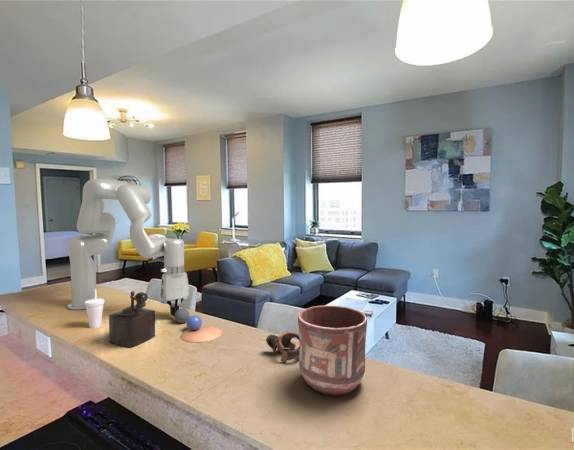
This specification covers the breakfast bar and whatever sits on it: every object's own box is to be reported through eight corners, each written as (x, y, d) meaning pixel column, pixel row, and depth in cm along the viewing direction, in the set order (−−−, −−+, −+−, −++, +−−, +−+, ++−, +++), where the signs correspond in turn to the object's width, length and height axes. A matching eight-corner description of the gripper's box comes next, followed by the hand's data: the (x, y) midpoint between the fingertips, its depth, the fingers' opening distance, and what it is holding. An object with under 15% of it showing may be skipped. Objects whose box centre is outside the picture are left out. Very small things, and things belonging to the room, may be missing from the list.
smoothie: (108, 323, 125) (108, 287, 124) (97, 329, 118) (96, 291, 118) (93, 322, 125) (92, 286, 125) (81, 329, 119) (80, 291, 118)
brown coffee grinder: (106, 343, 107) (105, 289, 106) (134, 331, 117) (133, 282, 116) (141, 352, 101) (140, 295, 100) (167, 339, 111) (166, 287, 110)
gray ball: (178, 307, 124) (181, 321, 122) (190, 305, 128) (193, 318, 126) (170, 312, 127) (173, 326, 125) (182, 310, 131) (185, 323, 129)
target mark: (175, 332, 117) (175, 332, 116) (211, 324, 125) (211, 323, 125) (190, 346, 106) (190, 345, 106) (228, 335, 114) (228, 335, 114)
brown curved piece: (303, 350, 105) (308, 333, 100) (296, 376, 97) (301, 359, 92) (268, 338, 106) (271, 321, 102) (258, 362, 99) (261, 345, 94)
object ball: (184, 313, 119) (192, 319, 115) (198, 311, 123) (205, 317, 119) (182, 328, 119) (189, 334, 115) (196, 325, 123) (203, 331, 119)
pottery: (297, 365, 94) (298, 303, 93) (359, 367, 93) (361, 305, 92) (296, 402, 76) (296, 327, 75) (372, 406, 75) (374, 330, 74)
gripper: (159, 274, 121) (160, 322, 122) (196, 269, 132) (196, 313, 133) (151, 271, 127) (152, 317, 128) (187, 266, 137) (187, 309, 138)
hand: (174, 315), depth 130 cm, fingers closed
